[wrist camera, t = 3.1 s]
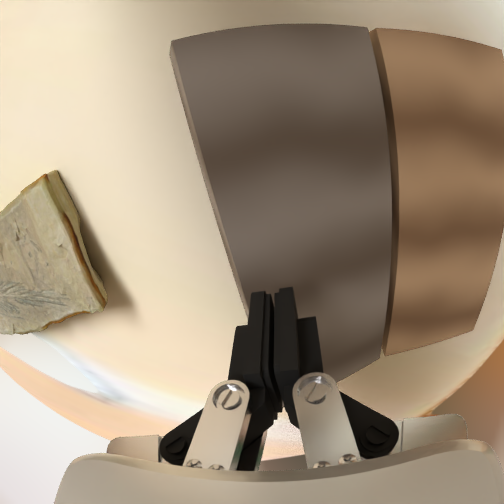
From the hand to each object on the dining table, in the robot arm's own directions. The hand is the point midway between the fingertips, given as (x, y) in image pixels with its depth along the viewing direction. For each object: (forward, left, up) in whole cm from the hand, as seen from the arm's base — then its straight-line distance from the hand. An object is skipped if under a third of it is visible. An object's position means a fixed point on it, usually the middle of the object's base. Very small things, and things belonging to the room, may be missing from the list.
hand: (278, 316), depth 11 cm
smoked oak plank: (0, +2, -5) cm, 5 cm away
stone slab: (-1, -28, -7) cm, 28 cm away
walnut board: (0, +11, -7) cm, 13 cm away
